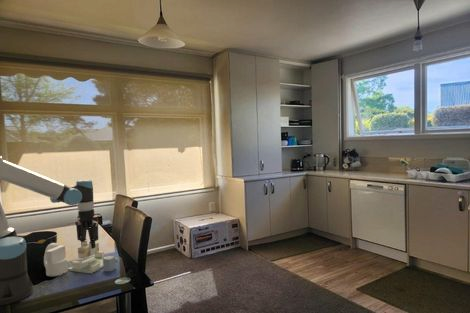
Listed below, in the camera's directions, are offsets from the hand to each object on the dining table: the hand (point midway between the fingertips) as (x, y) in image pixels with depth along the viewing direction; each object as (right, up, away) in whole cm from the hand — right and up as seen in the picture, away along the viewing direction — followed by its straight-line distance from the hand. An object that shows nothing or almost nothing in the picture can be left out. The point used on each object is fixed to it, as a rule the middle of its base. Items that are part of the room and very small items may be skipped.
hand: (88, 253), depth 156 cm
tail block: (+15, -5, -9) cm, 18 cm away
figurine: (-19, -6, -1) cm, 20 cm away
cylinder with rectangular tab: (-11, -6, -9) cm, 16 cm away
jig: (+3, -5, -2) cm, 6 cm away
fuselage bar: (0, -1, 0) cm, 1 cm away
